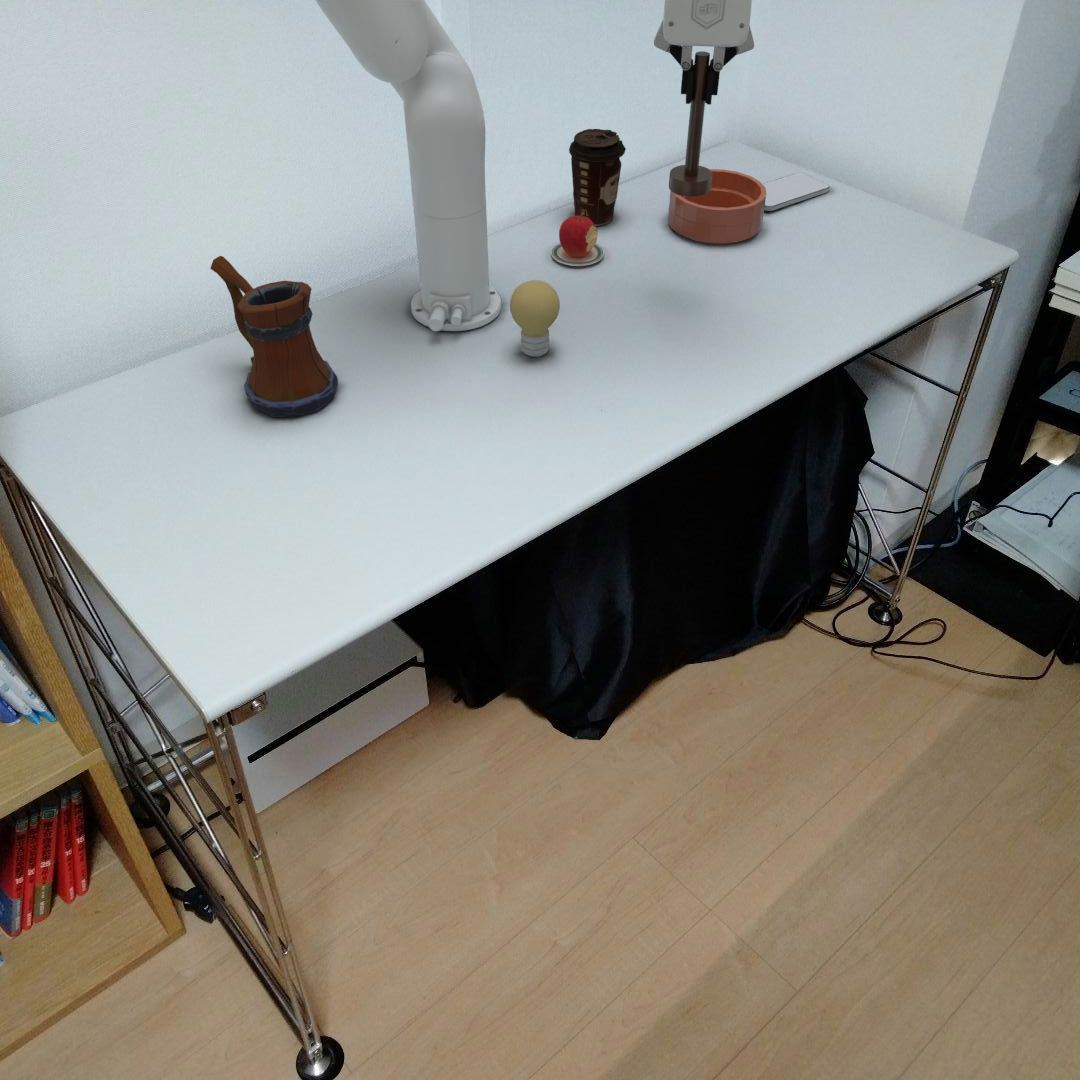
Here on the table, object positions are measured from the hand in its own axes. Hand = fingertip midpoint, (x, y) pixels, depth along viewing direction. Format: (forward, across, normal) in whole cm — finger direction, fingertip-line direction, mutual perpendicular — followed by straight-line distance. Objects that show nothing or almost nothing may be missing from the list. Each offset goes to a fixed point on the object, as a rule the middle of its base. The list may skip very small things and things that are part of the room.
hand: (698, 99), depth 130 cm
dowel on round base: (+12, 0, 0) cm, 12 cm away
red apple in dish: (+27, -16, +10) cm, 33 cm away
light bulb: (+27, -19, -18) cm, 38 cm away
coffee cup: (+27, -14, +22) cm, 38 cm away
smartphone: (+27, +17, +34) cm, 47 cm away
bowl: (+27, +5, +22) cm, 35 cm away
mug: (+27, -51, -28) cm, 64 cm away
